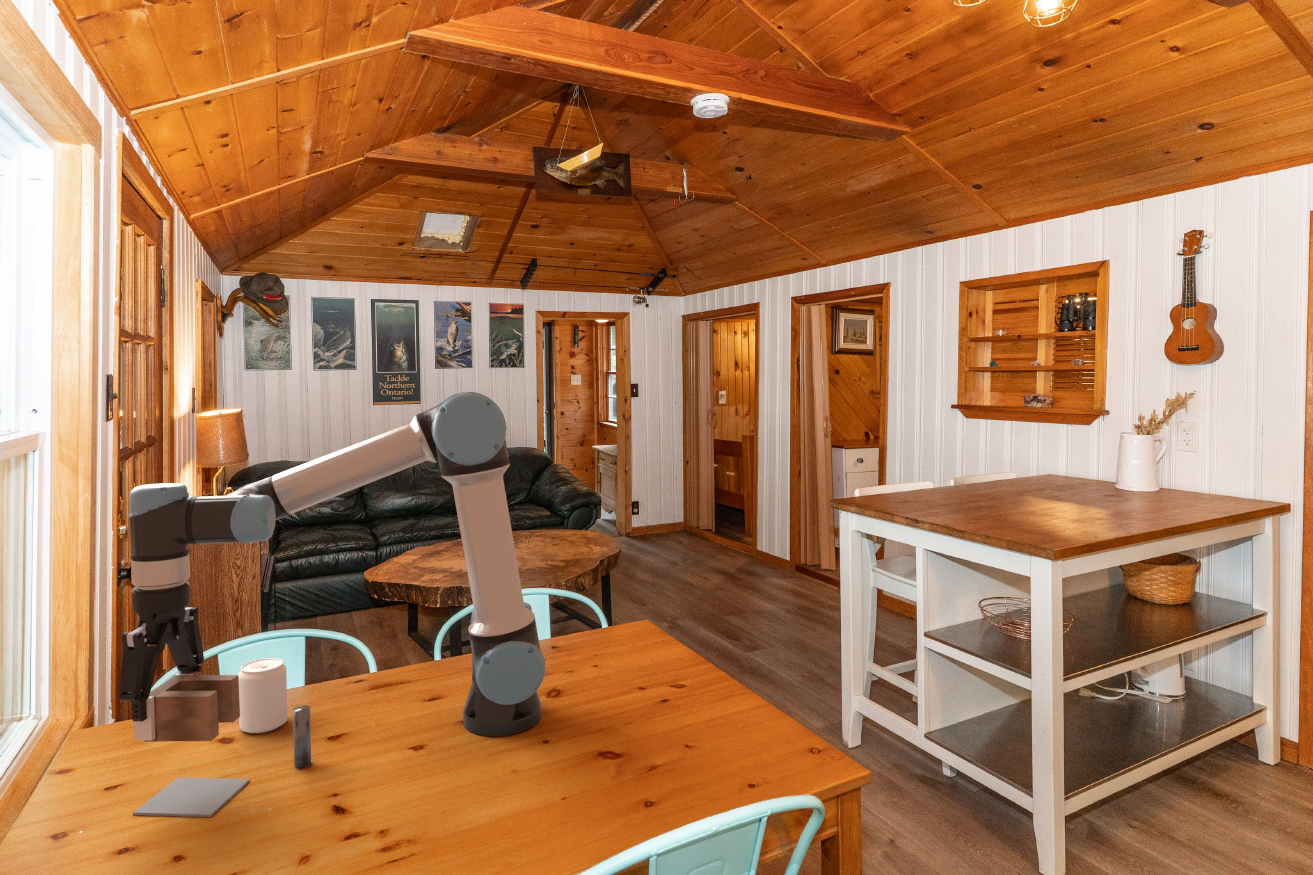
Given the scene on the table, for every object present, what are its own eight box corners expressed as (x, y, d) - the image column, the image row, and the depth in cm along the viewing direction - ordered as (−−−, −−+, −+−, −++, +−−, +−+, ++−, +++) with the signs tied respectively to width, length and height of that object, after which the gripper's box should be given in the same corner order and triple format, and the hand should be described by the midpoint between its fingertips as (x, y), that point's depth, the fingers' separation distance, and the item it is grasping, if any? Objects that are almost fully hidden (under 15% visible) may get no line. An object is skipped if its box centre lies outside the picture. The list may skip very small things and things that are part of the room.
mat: (249, 781, 119) (249, 778, 119) (210, 816, 109) (210, 814, 109) (178, 779, 119) (178, 777, 119) (132, 814, 109) (132, 812, 109)
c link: (144, 741, 110) (142, 696, 109) (177, 717, 118) (175, 675, 117) (211, 740, 110) (209, 696, 109) (240, 716, 118) (238, 674, 117)
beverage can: (267, 737, 134) (265, 674, 133) (229, 733, 136) (227, 670, 135) (297, 718, 142) (295, 658, 141) (261, 714, 143) (259, 655, 143)
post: (314, 761, 126) (312, 705, 125) (306, 769, 123) (305, 711, 122) (299, 760, 126) (298, 704, 125) (291, 768, 123) (290, 711, 122)
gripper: (183, 566, 123) (187, 696, 124) (81, 602, 102) (87, 758, 103) (227, 567, 122) (230, 697, 124) (133, 603, 102) (139, 760, 103)
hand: (165, 725), depth 114 cm, fingers closed on c link, 8 cm apart
